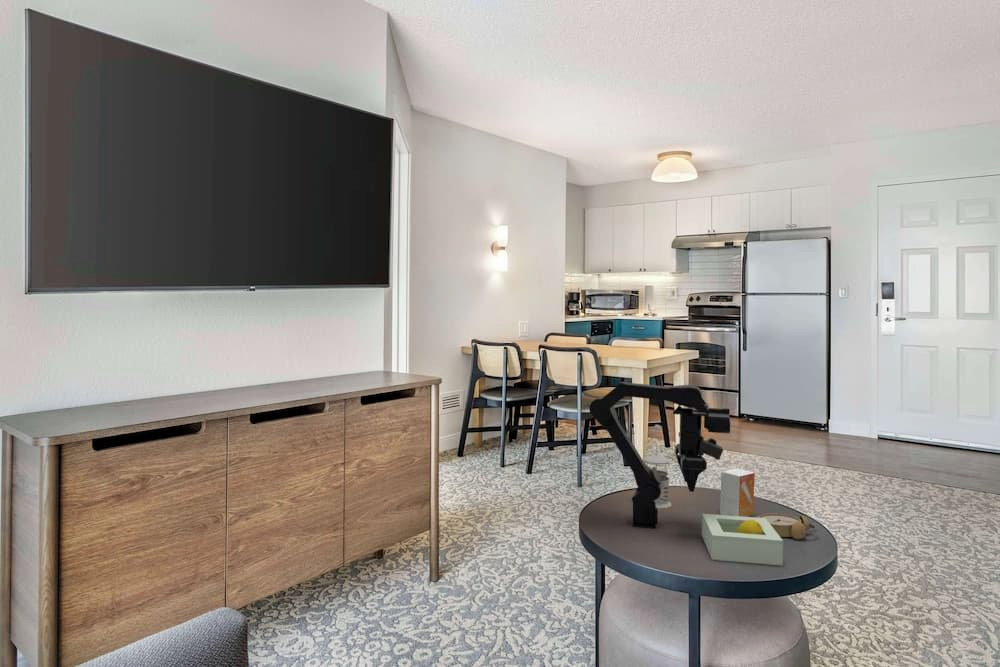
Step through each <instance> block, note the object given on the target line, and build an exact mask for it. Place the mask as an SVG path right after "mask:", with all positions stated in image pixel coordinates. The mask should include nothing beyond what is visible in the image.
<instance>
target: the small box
mask: <svg viewBox="0 0 1000 667" xmlns="http://www.w3.org/2000/svg"><path fill="white" fill-rule="evenodd" d="M720 474H721V475H720V503H719V504H720V505H719V506H720V509H719V515H728V516H742V517H753V516H754V511H755V510H754V507H755V505H754V503H755V502H754V501H755V472H752V471H749V470H745V469H741V468H738V467H735V468H732V469H727V470H724V471H721V472H720Z"/></svg>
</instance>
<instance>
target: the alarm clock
mask: <svg viewBox="0 0 1000 667" xmlns="http://www.w3.org/2000/svg"><path fill="white" fill-rule="evenodd" d="M756 518H766V519H767V521H768V522H769V523H770V525H771V526H772V527H773V528H774V530H775V531H776V532H777V534H778V535H779V536H780V537H781V538H782V537H783V538H789V537H791V538H793V539H794V540H803V539H804V538H805V537H806V535H810V534H811V535H812V534H815V533H817V531H818V528H817V526H816V525H815V524H812V523H810V521H809V520H808V518H807V517H806V516H804V515H799V517H797V516H793V515H790V514H785V513H783V514H782V513H764V514H759V515H757V516H756ZM810 528H811V529H810Z"/></svg>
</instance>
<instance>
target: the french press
mask: <svg viewBox="0 0 1000 667" xmlns="http://www.w3.org/2000/svg"><path fill="white" fill-rule="evenodd" d="M653 428H654V430H661V426H660V425H659V424H655V425H654V427H653ZM655 446H656V447H655V448H656V450H655V452H656V454H652V455H648V456H645V457H644V458H643V461H644V463H645V464H646V463H647V464H650V465H651V464H652V465H655V468H656V470H657V472H658V474H659V475H660V476H661V477H662V478H663V479H662V483H663V488H662V491H661V494H660V496H659V498H658V499H656V500H654V501H655V504H656V507H657V509H666V508H670V507H671V506H672V503H671V502H670V500H669V497H670V496H669V492H670V491H669V489H670V487H669V486H670V483H669V482H670V478H669V477H668V475H669V473H668V472H667V471H664V470H658V465H668V464H670V462H671V461H670V460H669V459H668V458H667V457H666V456H663V455H659V454H658V444H656V445H655Z"/></svg>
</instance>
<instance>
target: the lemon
mask: <svg viewBox="0 0 1000 667" xmlns="http://www.w3.org/2000/svg"><path fill="white" fill-rule="evenodd" d="M736 533H745V534H758V535H763V529H762V526H761V525H760V524H759V523H758V522H757V521H755V520H747V521H745V522H743V523H741V524H740V526H739V527H738V529H737V532H736Z"/></svg>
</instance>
